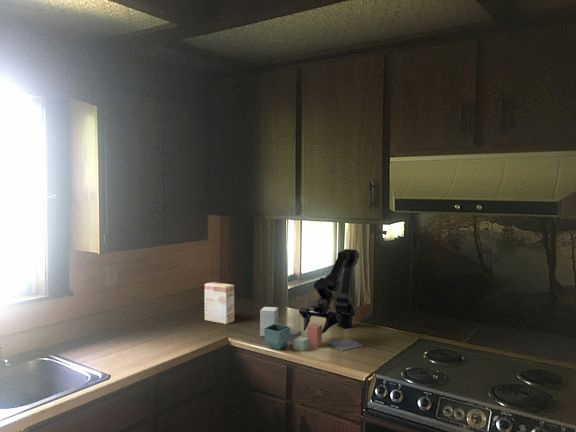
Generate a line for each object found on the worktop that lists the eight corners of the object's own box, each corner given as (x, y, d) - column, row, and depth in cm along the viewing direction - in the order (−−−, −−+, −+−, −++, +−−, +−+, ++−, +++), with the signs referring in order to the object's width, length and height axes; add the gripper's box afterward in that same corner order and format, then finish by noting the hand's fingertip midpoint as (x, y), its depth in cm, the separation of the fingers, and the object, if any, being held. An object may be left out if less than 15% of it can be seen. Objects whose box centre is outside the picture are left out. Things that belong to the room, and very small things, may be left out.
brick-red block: (312, 342, 228) (312, 323, 227) (321, 344, 225) (322, 325, 225) (306, 345, 224) (307, 326, 223) (316, 347, 221) (317, 327, 220)
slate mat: (348, 339, 233) (348, 338, 233) (363, 346, 223) (363, 345, 223) (327, 343, 226) (327, 342, 226) (342, 350, 217) (342, 349, 217)
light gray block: (291, 339, 234) (291, 329, 233) (300, 340, 231) (300, 331, 231) (285, 341, 229) (285, 332, 229) (295, 343, 227) (295, 334, 226)
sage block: (298, 346, 223) (298, 336, 223) (308, 348, 221) (308, 338, 221) (293, 349, 219) (293, 339, 219) (303, 351, 217) (303, 341, 216)
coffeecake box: (234, 321, 262) (234, 284, 261) (226, 324, 256) (225, 287, 255) (213, 317, 270) (212, 281, 269) (204, 320, 264) (203, 283, 263)
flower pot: (280, 352, 215) (280, 331, 215) (263, 348, 220) (263, 328, 219) (290, 346, 223) (290, 326, 222) (274, 342, 227) (274, 323, 227)
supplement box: (274, 337, 235) (274, 311, 235) (259, 336, 237) (259, 310, 236) (278, 332, 243) (278, 307, 242) (263, 331, 244) (263, 306, 243)
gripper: (301, 289, 231) (288, 318, 222) (337, 294, 222) (326, 325, 213) (308, 303, 238) (297, 331, 230) (344, 308, 229) (334, 338, 220)
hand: (313, 331), depth 223 cm, fingers open, 9 cm apart
